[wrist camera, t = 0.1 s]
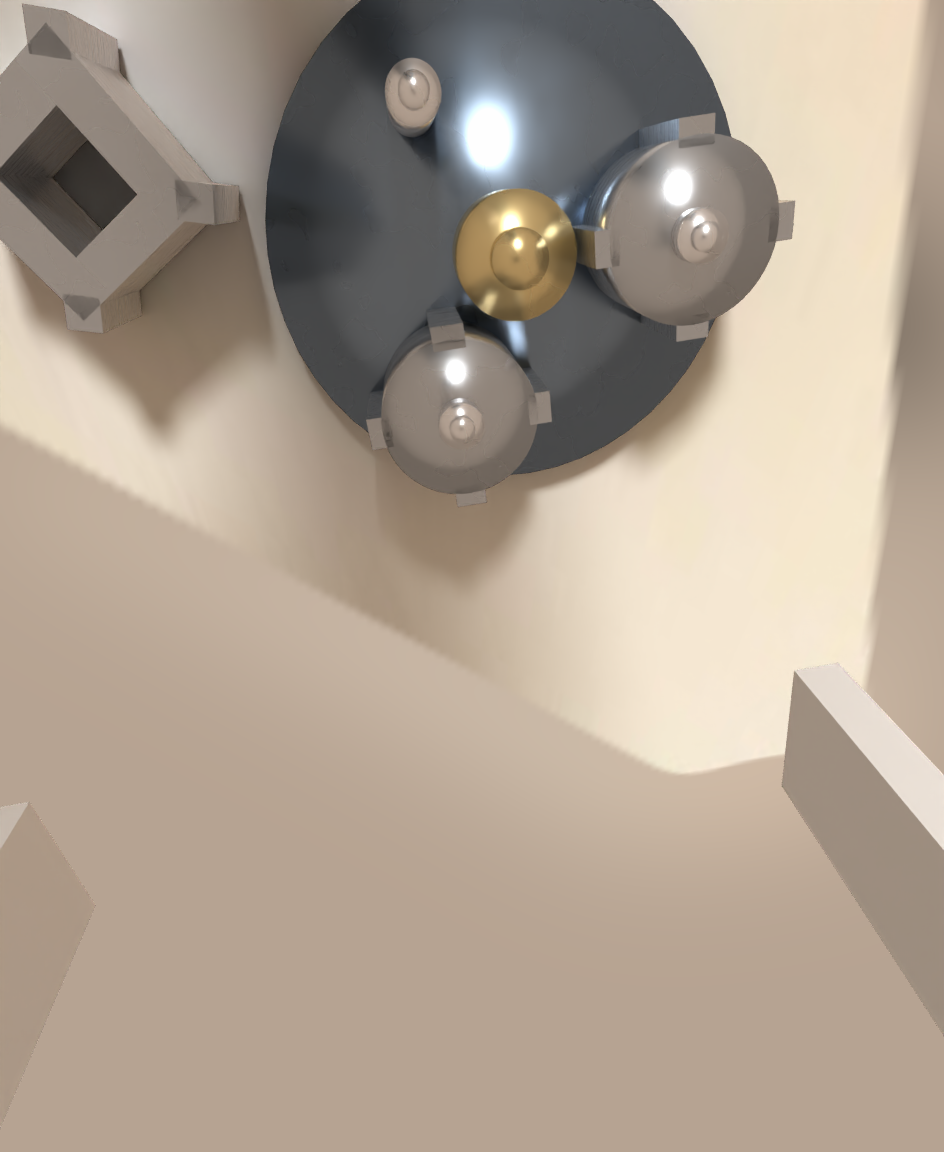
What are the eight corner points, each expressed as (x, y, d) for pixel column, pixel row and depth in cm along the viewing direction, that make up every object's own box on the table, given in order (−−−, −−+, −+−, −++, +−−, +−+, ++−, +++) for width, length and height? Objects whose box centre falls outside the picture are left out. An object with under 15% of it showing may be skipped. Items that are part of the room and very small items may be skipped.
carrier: (204, -6, 28) (143, -70, 21) (743, -86, 28) (850, -173, 22) (331, 496, 39) (316, 559, 32) (720, 434, 39) (787, 484, 32)
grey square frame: (-36, 165, 30) (-110, 160, 26) (96, 14, 28) (40, -19, 24) (127, 328, 34) (87, 348, 29) (255, 206, 32) (232, 207, 27)
